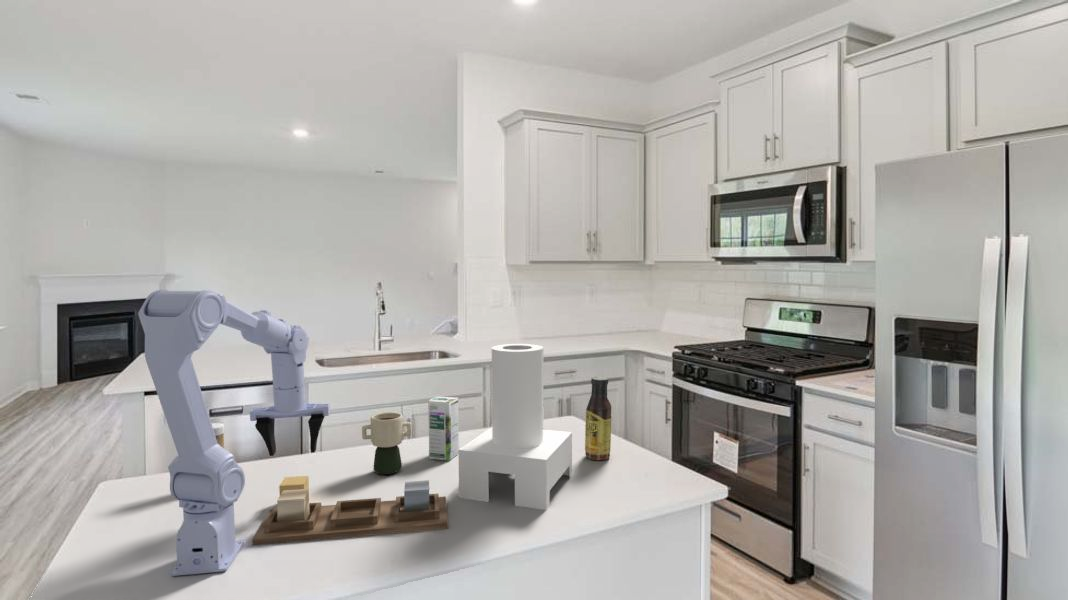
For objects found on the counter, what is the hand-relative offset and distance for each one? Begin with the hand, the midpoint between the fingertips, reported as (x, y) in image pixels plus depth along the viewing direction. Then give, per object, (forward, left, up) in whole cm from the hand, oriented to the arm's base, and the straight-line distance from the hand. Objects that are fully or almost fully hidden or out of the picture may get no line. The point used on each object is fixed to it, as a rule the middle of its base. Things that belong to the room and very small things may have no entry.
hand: (293, 452), depth 116 cm
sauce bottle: (+14, -67, -11) cm, 69 cm away
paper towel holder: (0, -45, -11) cm, 46 cm away
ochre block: (-1, 0, -10) cm, 10 cm away
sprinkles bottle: (+12, +19, -11) cm, 25 cm away
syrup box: (+22, -30, -11) cm, 39 cm away
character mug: (+14, -17, -11) cm, 25 cm away
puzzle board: (-11, -13, -10) cm, 20 cm away
